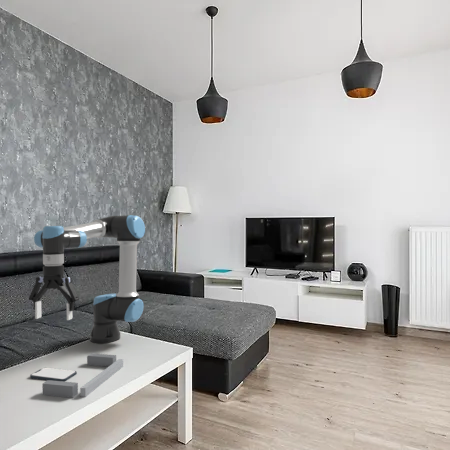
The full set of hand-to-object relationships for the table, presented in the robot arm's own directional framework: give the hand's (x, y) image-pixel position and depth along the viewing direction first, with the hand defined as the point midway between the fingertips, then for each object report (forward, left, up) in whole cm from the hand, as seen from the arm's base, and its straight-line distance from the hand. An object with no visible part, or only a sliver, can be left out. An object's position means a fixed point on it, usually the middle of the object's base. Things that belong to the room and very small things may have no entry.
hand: (53, 318), depth 147 cm
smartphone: (-2, -1, -24) cm, 24 cm away
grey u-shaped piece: (-2, +14, -23) cm, 27 cm away
